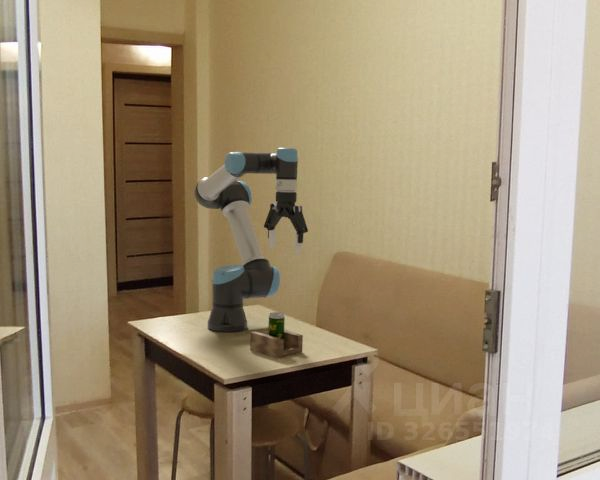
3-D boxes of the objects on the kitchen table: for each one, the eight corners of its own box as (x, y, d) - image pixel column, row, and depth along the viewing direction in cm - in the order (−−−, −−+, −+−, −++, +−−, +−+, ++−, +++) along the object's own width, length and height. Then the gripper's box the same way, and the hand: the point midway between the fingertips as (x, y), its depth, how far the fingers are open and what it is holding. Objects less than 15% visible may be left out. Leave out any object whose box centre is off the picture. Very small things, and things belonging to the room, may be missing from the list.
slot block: (250, 349, 233) (250, 332, 232) (273, 343, 241) (273, 327, 240) (278, 358, 223) (279, 340, 223) (302, 352, 231) (302, 334, 231)
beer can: (275, 345, 236) (276, 311, 234) (287, 348, 232) (288, 313, 231) (264, 348, 232) (265, 313, 230) (276, 351, 228) (277, 316, 227)
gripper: (255, 189, 252) (254, 246, 255) (304, 193, 235) (302, 254, 237) (269, 189, 257) (268, 245, 260) (318, 193, 240) (317, 253, 243)
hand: (284, 250), depth 249 cm, fingers open, 13 cm apart
